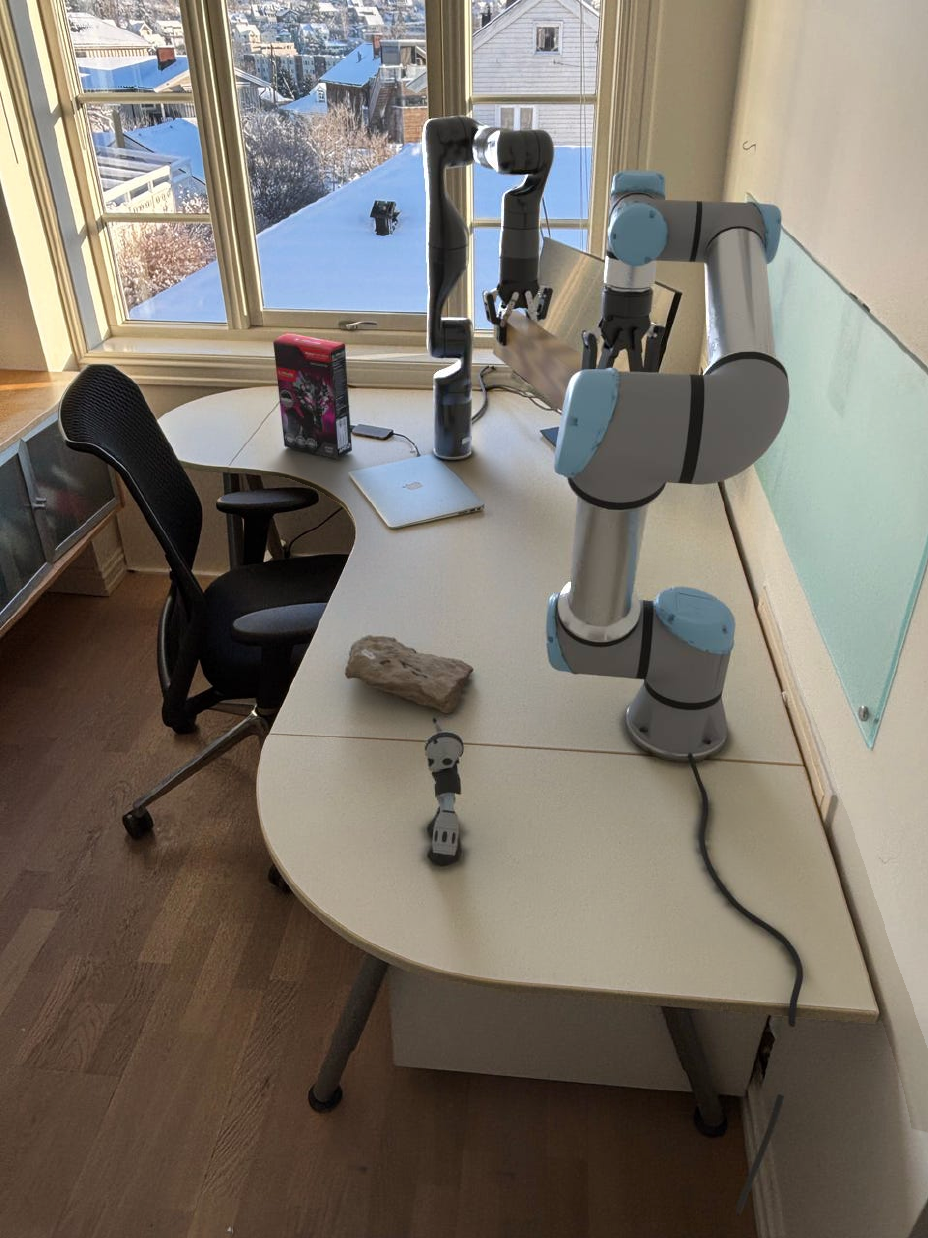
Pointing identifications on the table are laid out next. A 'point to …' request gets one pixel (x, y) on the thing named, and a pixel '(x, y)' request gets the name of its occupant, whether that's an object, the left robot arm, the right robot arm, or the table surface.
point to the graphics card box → (313, 395)
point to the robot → (444, 794)
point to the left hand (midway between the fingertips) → (515, 342)
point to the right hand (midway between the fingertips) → (613, 433)
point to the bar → (538, 357)
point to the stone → (408, 672)
